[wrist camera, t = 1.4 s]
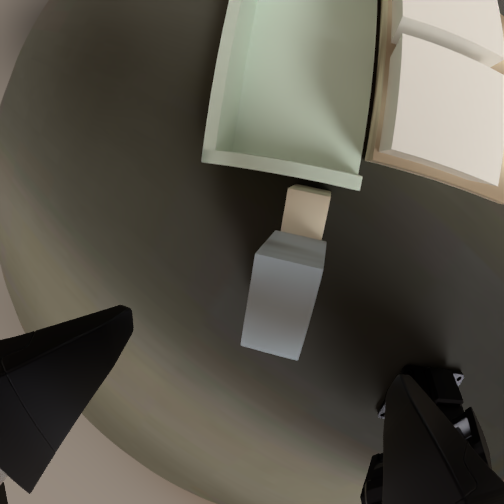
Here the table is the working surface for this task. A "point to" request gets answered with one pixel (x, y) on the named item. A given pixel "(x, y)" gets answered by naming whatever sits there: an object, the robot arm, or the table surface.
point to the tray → (293, 88)
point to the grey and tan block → (288, 276)
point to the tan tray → (386, 48)
